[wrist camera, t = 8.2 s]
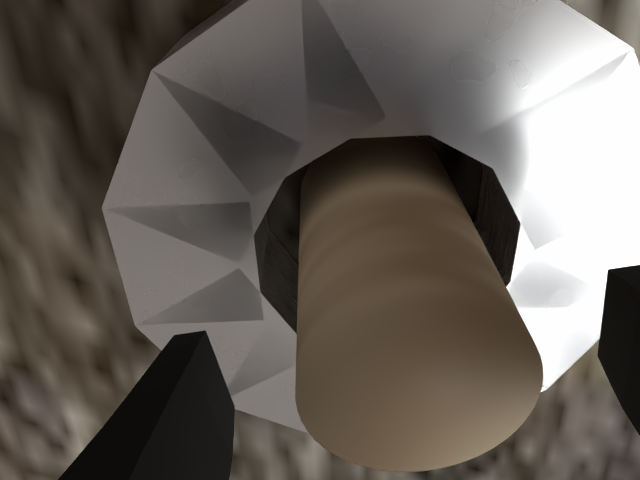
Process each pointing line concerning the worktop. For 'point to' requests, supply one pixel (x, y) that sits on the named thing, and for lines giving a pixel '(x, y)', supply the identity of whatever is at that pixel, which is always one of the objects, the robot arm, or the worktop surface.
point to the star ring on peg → (367, 122)
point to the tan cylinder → (403, 315)
